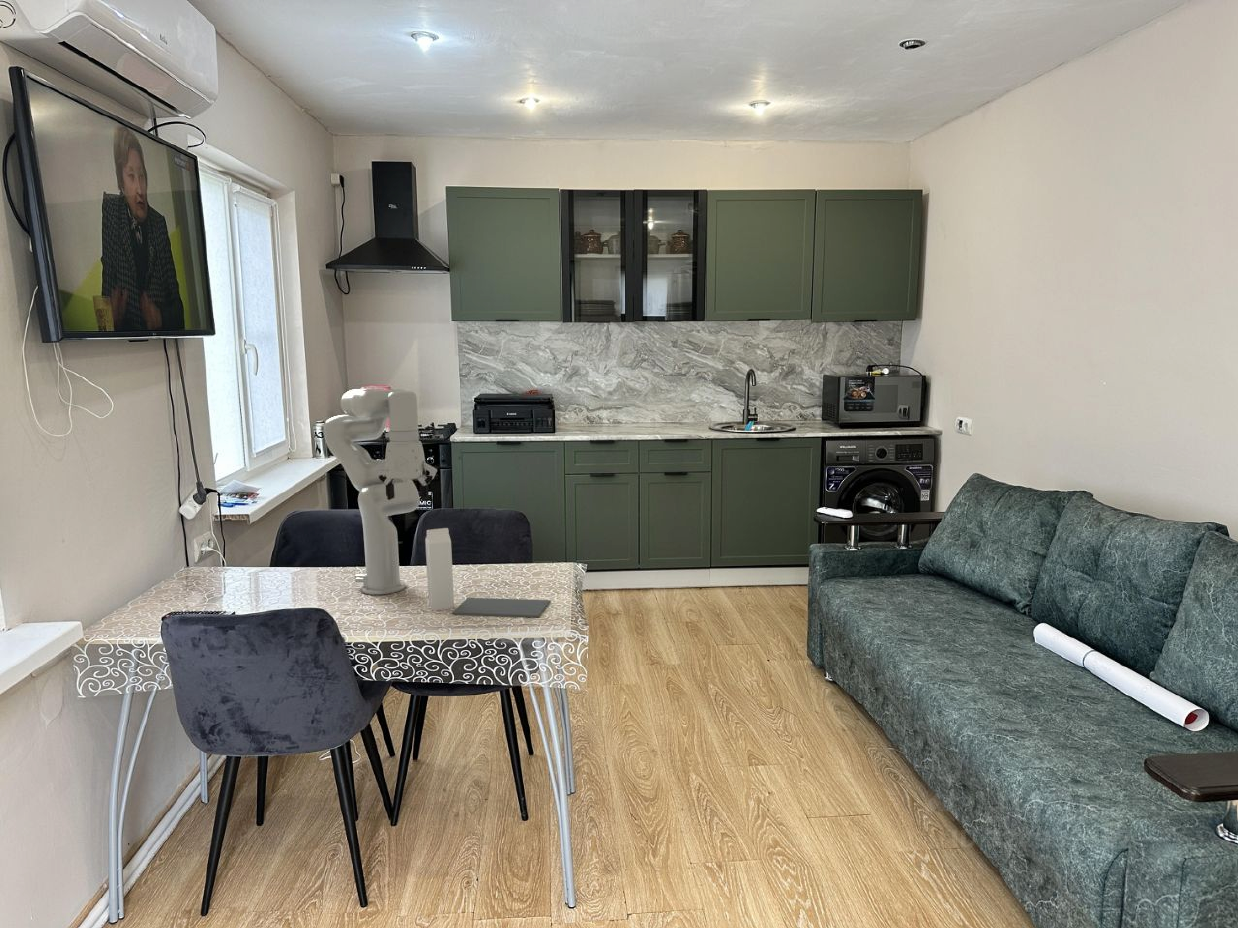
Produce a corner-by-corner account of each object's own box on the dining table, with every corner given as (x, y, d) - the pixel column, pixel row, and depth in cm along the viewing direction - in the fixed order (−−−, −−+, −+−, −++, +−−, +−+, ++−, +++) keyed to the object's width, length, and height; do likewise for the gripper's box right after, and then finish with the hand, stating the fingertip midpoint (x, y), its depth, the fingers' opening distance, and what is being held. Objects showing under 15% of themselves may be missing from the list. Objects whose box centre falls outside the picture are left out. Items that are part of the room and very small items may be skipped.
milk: (454, 608, 216) (451, 530, 213) (432, 611, 214) (428, 532, 210) (449, 601, 221) (446, 525, 218) (428, 604, 219) (424, 527, 216)
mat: (452, 614, 210) (451, 612, 210) (468, 599, 223) (468, 597, 223) (538, 617, 207) (538, 615, 207) (550, 602, 219) (550, 600, 219)
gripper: (367, 438, 210) (371, 501, 212) (429, 438, 207) (432, 502, 210) (380, 435, 217) (383, 496, 219) (439, 435, 215) (442, 497, 217)
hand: (407, 499), depth 215 cm, fingers open, 9 cm apart
